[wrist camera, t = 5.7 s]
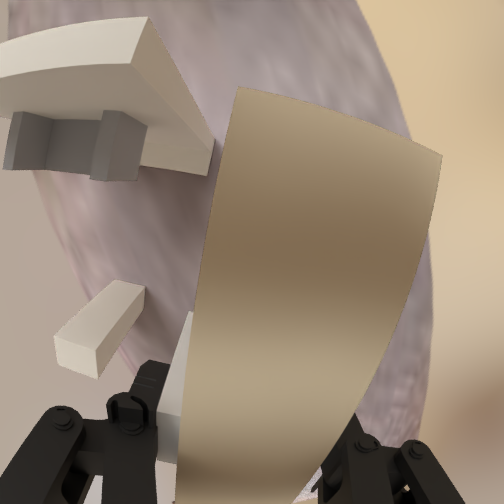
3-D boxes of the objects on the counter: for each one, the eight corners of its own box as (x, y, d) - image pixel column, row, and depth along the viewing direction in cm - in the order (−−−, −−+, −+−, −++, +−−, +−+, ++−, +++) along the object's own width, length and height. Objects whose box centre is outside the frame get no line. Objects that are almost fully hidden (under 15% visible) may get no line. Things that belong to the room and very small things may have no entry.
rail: (237, 129, 8) (238, 86, 4) (362, 162, 8) (442, 155, 4) (180, 485, 12) (173, 539, 8) (248, 493, 12) (251, 546, 8)
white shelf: (98, 125, 27) (-74, 79, 4) (215, 139, 28) (148, 16, 5) (80, 292, 32) (-45, 408, 8) (183, 317, 33) (124, 501, 10)
